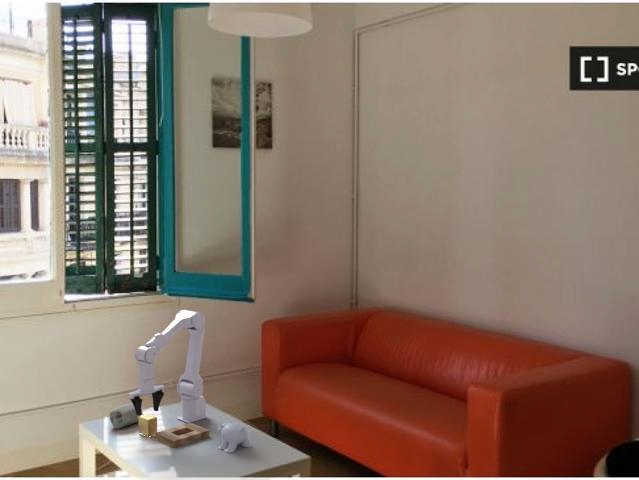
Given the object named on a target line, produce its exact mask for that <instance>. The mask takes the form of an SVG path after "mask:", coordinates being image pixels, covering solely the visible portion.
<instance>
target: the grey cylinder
mask: <svg viewBox="0 0 639 480" xmlns="http://www.w3.org/2000/svg"><path fill="white" fill-rule="evenodd" d="M141 415H144V412H143V410H142V408H141ZM109 420H110V424H111V425H112V427H113V428H115V429H116V430H117V429H118V430H119V429H122V428H124V427H126V426H131V425H134V424H137V423H139V418H138V415H136V411H135V408H134V405H133V403H132V402H130V403H127V404H123V405H121V406H118V407H116V408H113V409H112V410H111V411H110V412H109Z"/></svg>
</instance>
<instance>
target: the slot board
mask: <svg viewBox="0 0 639 480" xmlns="http://www.w3.org/2000/svg"><path fill="white" fill-rule="evenodd" d="M210 431H211V430H210V429H207V428H205V427H202V426H199V425H198V424H195V423H193V422H190V423H187V422H186V423H184V424H180V425H178V426H175V427H172V428H167V429H164V430H161V431H157V433H155V436H154V438H155V440H156V439H157V440H156V441H158V440H159V441H158V442H161V443H162V444H165V445H168V446H169V447H172V448H174V449H175V448H178V447H181V446H184V445H187V444H190V443H194V442H197V441H200V440H203V439H207V438H210Z"/></svg>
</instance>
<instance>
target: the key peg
mask: <svg viewBox="0 0 639 480" xmlns="http://www.w3.org/2000/svg"><path fill="white" fill-rule="evenodd" d="M138 418H139V422H138V434H139V433H142V434H143V435H145V436H148V437H149V436H153V435H155V433H157V432H158V417H156V416H154V415H152V414H150V413H145V414H144V413H143V415H141V416H138ZM143 435H142V436H143ZM145 436H144V437H145ZM153 437H154V436H153Z"/></svg>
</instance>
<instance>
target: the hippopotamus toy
mask: <svg viewBox="0 0 639 480" xmlns="http://www.w3.org/2000/svg"><path fill="white" fill-rule="evenodd" d="M246 427H247V425H243V424H240V423H237V422H232V421H231V422H223V423H221V424H220V425H219V426H218V427H217V433H218V434H219V435H221V439H222V441H221V443H220V445H219V446H217V448H218V449H219V450H221V449H223V451H224V452H225V453H227V452H228V453H227V454H231V452H232V453H234V452H235V451H236V450H237V446H238V445H239V444H241V445H240V447H242V446H243V447H242V448H245V447H248V448H251V447H252V446H251V445H252V444H251V442H250V440H249V438H248V430H247V429H246ZM250 446H251V447H250Z"/></svg>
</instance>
